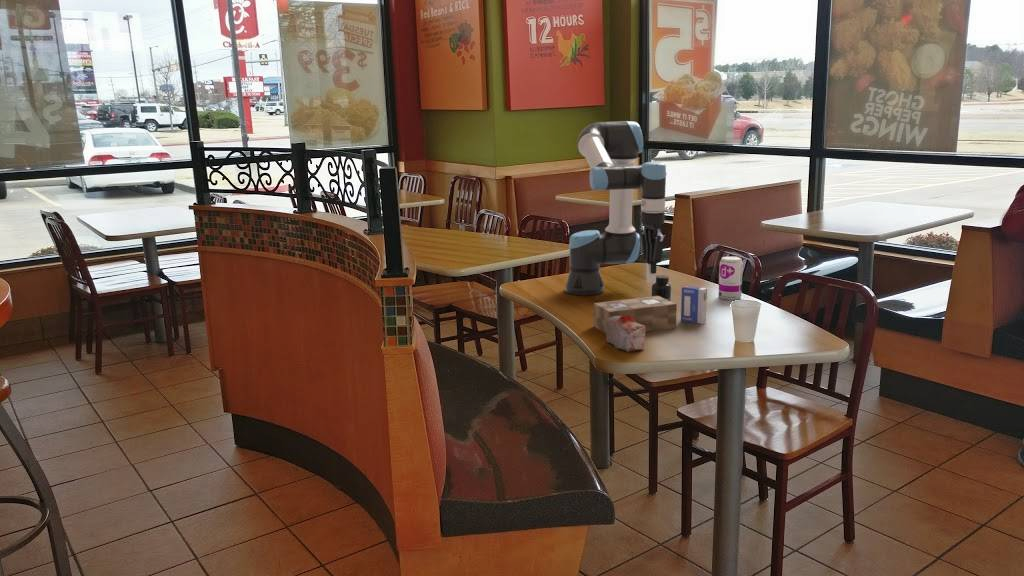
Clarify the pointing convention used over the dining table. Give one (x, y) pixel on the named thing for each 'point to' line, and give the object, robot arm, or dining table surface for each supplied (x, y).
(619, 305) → the peg near
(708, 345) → the dining table surface
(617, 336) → the food item
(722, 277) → the supplement can
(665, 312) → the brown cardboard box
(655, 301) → the peg far
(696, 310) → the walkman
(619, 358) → the dining table surface
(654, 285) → the supplement bottle
